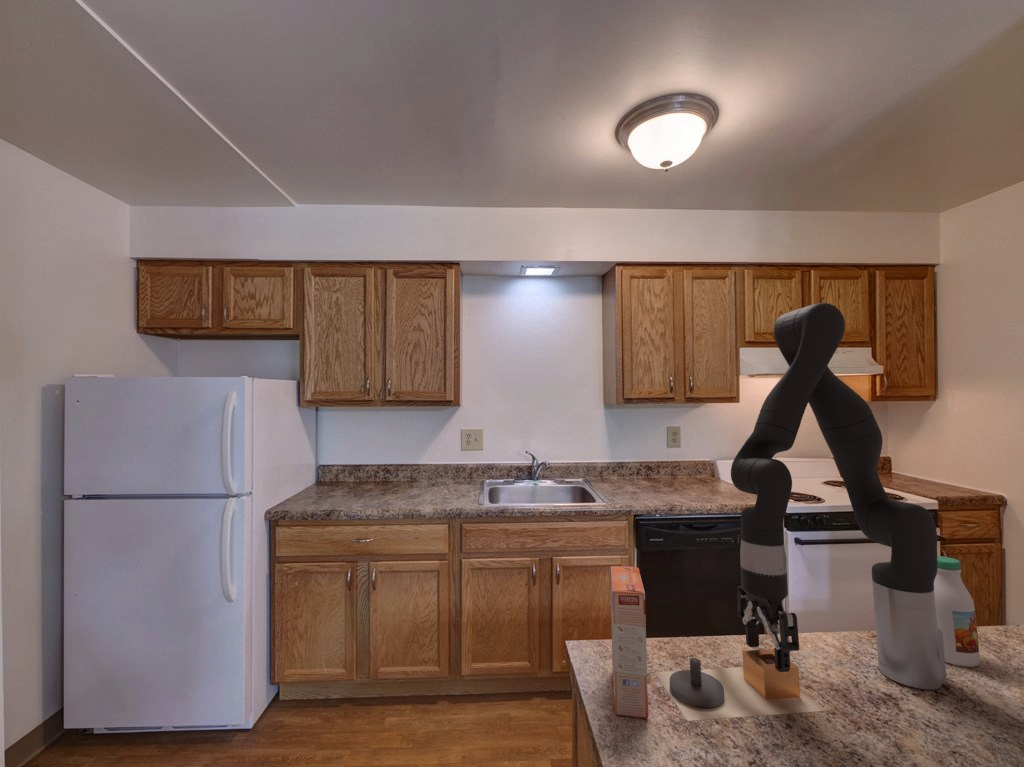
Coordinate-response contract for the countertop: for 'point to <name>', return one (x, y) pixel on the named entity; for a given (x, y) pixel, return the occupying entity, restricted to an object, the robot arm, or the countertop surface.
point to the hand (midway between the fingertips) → (766, 657)
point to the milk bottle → (955, 615)
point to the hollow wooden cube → (770, 675)
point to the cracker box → (629, 642)
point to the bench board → (726, 694)
